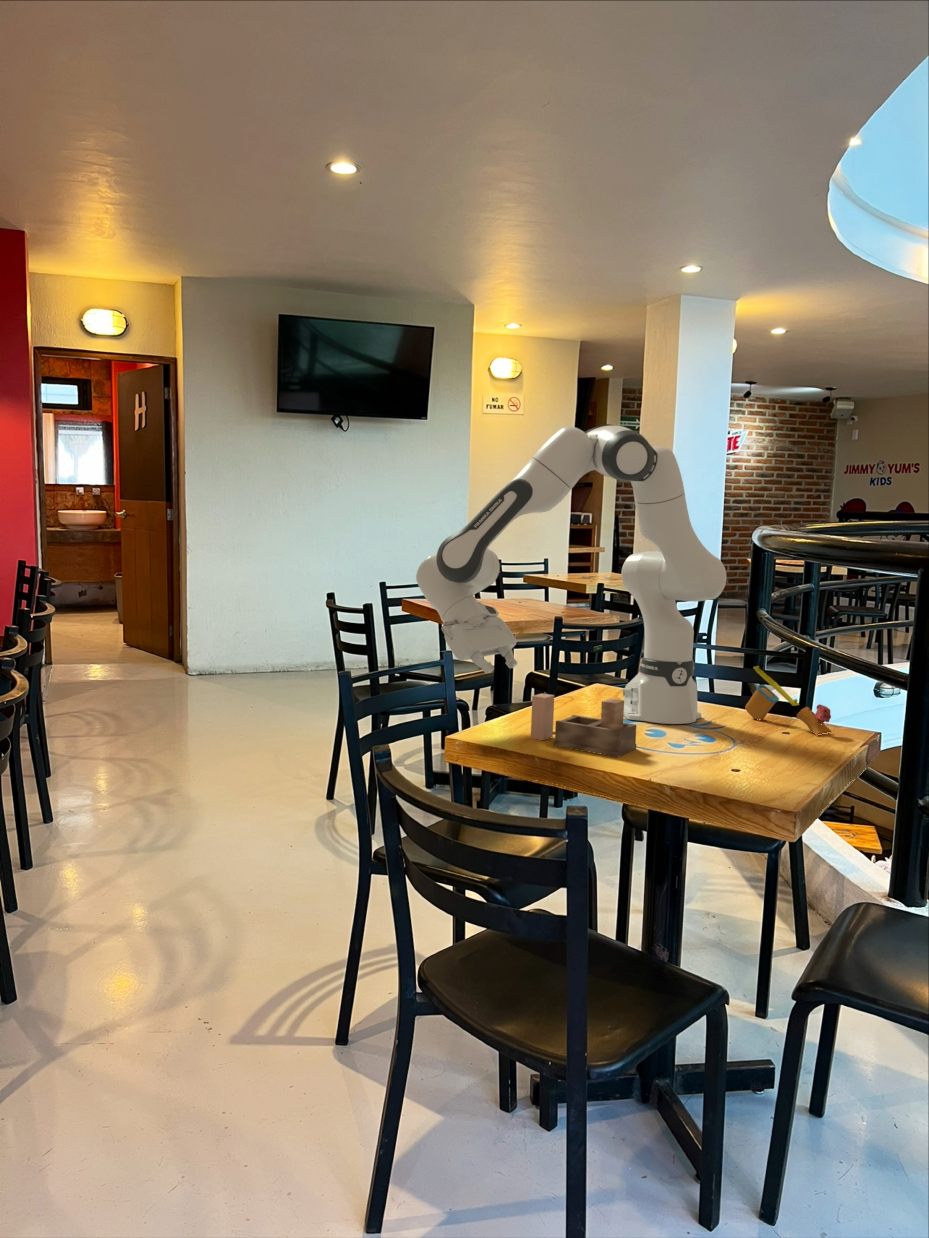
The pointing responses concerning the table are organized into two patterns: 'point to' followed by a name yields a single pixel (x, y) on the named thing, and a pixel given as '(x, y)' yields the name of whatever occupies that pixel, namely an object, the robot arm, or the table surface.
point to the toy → (766, 699)
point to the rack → (598, 731)
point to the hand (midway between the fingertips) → (502, 668)
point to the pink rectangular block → (542, 716)
